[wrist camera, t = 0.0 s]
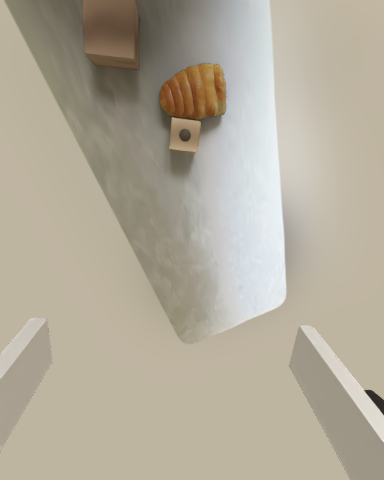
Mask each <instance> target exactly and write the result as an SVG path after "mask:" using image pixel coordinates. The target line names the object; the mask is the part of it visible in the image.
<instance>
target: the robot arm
mask: <svg viewBox="0 0 384 480" xmlns="http://www.w3.org/2000/svg"><path fill="white" fill-rule="evenodd" d="M51 364H52V355H51V345H50V338H49V328H48V319H47V318H31V319H30V320H29V321H28V323H27V324H26V325H25V326H24V327H23V328H22V329H21V331H20V332H19V333H18V334H17V335H16V336H15V338H14V339H13V340H12V341H11V342H10V343H9V344H8V346H7V347H6V348H5V349H4V350H3V351H2V352H1V354H0V451H1V449H2V448H3V446H4V444H5V443H6V441H7V439H8V437H9V436H10V434H11V432H12V431H13V429H14V427H15V426H16V424H17V422H18V420H19V419H20V417H21V415H22V414H23V412H24V410H25V408H26V407H27V405H28V403H29V401H30V400H31V398H32V396H33V395H34V393H35V391H36V390H37V388H38V386H39V384H40V383H41V381H42V379H43V378H44V376H45V374H46V372H47V371H48V369H49V367H50V366H51ZM289 367H290V369H291V370H292V372H293V374H294V376H295V378H296V380H297V382H298V383H299V385H300V387H301V389H302V391H303V393H304V395H305V396H306V398H307V400H308V402H309V404H310V406H311V408H312V409H313V411H314V413H315V415H316V417H317V419H318V421H319V422H320V424H321V426H322V428H323V430H324V432H325V434H326V436H327V437H328V439H329V441H330V443H331V445H332V447H333V448H334V450H335V452H336V454H337V456H338V458H339V460H340V461H341V463H342V465H343V467H344V469H345V471H346V473H347V474H348V476H349V478H350V480H384V400H383V399H382V398H381V397H379V396H378V395H377V394H376V393H374V392H373V391H372V390H363V389H362V387H361V386H360V385H359V384H358V382H357V381H356V380H355V379H354V377H353V376H352V375H351V374H350V372H349V371H348V370H347V369H346V367H345V366H344V365H343V364H342V363H341V361H340V360H339V359H338V357H337V356H336V355H335V354H334V353H333V351H332V350H331V349H330V347H329V346H328V345H327V344H326V342H325V341H324V340H323V339H322V337H321V336H320V335H319V334H318V332H317V331H316V330H315V329H314V327H313V326H299V328H298V333H297V336H296V340H295V345H294V348H293V352H292V356H291V361H290V364H289Z"/></svg>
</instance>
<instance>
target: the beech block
mask: <svg viewBox="0 0 384 480" xmlns="http://www.w3.org/2000/svg"><path fill="white" fill-rule="evenodd" d="M200 127H201V121H195V120H187V119H180V118H172V122H171V134H170V146H169V149H172V150H180V151H188V152H198V144H199V135H200Z"/></svg>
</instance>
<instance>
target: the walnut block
mask: <svg viewBox="0 0 384 480" xmlns="http://www.w3.org/2000/svg"><path fill="white" fill-rule="evenodd" d="M82 9H83V32H84V53H85V54H86V55H87V57H88V58H89V59H90V60H91V61H92V62H93V63H94V64H95V65H102V66H111V67H120V68H129V69H138V70H139V22H140V17H139V13H138V10H137V6H136V2H135V0H82Z"/></svg>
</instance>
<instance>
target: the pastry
mask: <svg viewBox="0 0 384 480" xmlns="http://www.w3.org/2000/svg"><path fill="white" fill-rule="evenodd" d="M159 100H160V106H161V108H162V109H163V110H164V111H165V112H166V113H167V114H168V115H170V116H177V117H180V118H184V119H188V118H189V119H194V120H200V119H202V118H207V117H213V116H217V115H219V116H222V115H223V114H224V113H225V111H226V83H225V79H224V74H223V70H222V68H221V67H220V65H218V64H216V65H211V64H206V63H204V64H199V65H196V66H193V67H188V68H187V69H185V70H182V71H181V72H180V73H178V74H176V75H175V76H174V77H173V78H172V79H170V80H169V81H166V82H165V83H164V85H163V86H162V88H161V91H160V93H159Z"/></svg>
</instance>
